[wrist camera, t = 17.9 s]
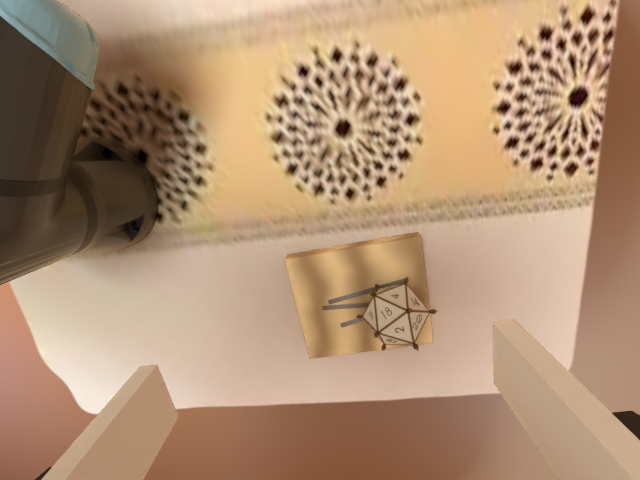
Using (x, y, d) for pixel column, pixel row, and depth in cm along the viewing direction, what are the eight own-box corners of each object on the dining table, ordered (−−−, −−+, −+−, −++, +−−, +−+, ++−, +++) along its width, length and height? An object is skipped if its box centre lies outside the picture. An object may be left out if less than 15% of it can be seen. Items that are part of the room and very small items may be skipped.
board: (310, 350, 47) (309, 358, 45) (287, 254, 42) (284, 259, 40) (429, 334, 45) (433, 342, 43) (417, 232, 40) (421, 236, 38)
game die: (385, 274, 44) (412, 255, 35) (424, 321, 43) (465, 315, 33) (338, 313, 42) (355, 304, 32) (379, 364, 40) (409, 371, 31)
